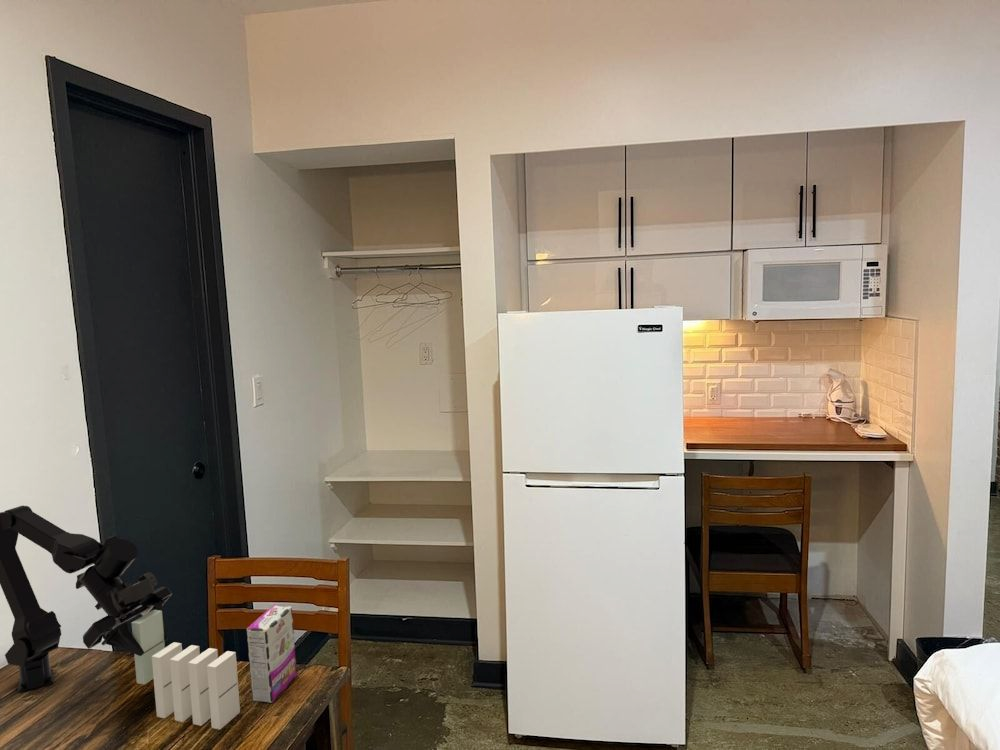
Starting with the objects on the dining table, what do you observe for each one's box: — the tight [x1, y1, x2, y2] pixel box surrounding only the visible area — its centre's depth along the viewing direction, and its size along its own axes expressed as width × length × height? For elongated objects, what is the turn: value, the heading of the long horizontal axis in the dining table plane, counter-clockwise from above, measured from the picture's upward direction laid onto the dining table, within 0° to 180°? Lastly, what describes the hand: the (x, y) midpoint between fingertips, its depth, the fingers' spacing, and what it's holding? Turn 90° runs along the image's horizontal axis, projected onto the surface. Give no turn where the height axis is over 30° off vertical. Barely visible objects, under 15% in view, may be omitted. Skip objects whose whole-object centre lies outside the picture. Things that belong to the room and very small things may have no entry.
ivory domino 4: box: [207, 650, 241, 730], centre depth 141 cm, size 2×6×13 cm, turn 162°
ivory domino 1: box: [152, 641, 183, 719], centre depth 145 cm, size 2×6×13 cm, turn 162°
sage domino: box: [131, 610, 166, 685], centre depth 146 cm, size 2×6×13 cm, turn 162°
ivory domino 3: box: [188, 647, 219, 727], centre depth 142 cm, size 2×6×13 cm, turn 162°
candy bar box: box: [246, 604, 298, 704], centre depth 152 cm, size 11×5×16 cm, turn 168°
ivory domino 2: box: [170, 644, 201, 723], centre depth 144 cm, size 2×6×13 cm, turn 162°
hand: (154, 646), depth 145 cm, fingers closed on sage domino, 6 cm apart
